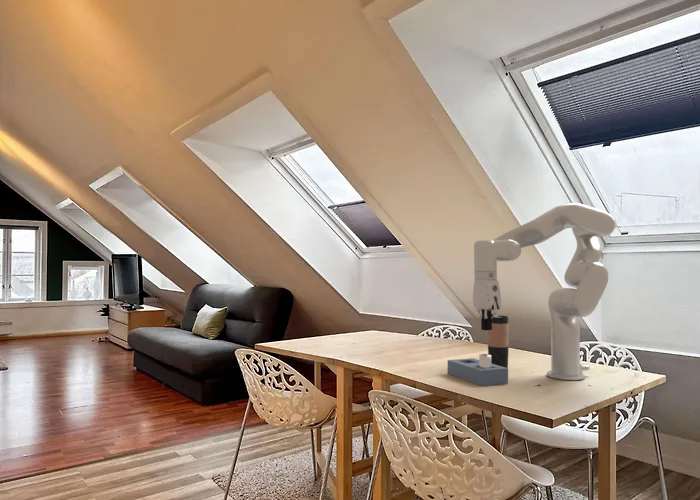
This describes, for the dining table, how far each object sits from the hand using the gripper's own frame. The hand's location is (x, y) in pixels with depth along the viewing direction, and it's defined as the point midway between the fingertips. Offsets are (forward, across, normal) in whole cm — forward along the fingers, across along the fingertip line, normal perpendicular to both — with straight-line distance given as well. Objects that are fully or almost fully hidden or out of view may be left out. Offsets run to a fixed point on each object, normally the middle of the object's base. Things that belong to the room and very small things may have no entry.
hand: (486, 329), depth 181 cm
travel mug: (+18, +17, -18) cm, 30 cm away
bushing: (+18, 0, +1) cm, 18 cm away
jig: (+18, +5, +1) cm, 18 cm away
